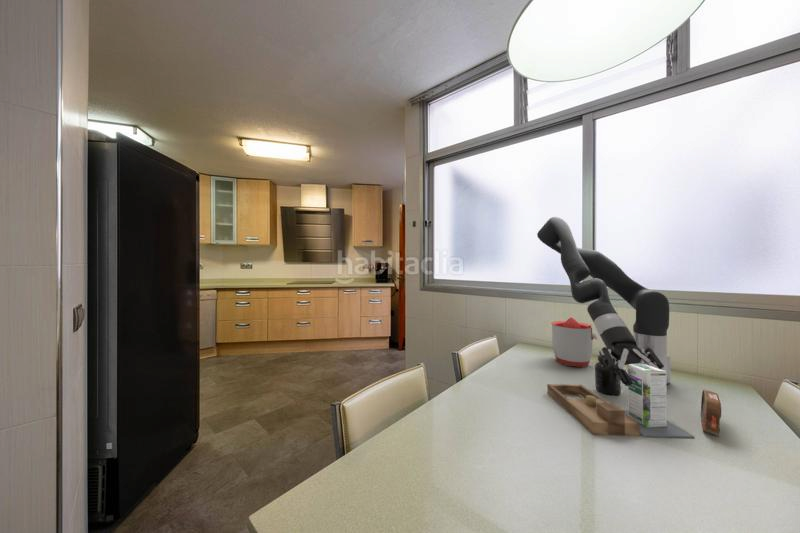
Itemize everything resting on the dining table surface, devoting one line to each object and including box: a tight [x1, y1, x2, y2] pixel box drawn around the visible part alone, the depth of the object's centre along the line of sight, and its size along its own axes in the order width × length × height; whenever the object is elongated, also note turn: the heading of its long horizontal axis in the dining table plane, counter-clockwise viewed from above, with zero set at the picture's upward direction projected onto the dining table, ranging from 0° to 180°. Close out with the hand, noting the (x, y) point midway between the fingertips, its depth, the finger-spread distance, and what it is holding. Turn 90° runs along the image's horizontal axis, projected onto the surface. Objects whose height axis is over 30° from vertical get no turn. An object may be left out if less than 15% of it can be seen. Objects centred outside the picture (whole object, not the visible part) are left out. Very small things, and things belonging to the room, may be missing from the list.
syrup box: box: [627, 364, 668, 428], centre depth 73 cm, size 6×6×14 cm
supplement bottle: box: [594, 354, 622, 397], centre depth 92 cm, size 7×7×12 cm
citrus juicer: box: [551, 317, 599, 368], centre depth 121 cm, size 16×17×20 cm
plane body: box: [546, 383, 641, 436], centre depth 79 cm, size 11×23×6 cm, turn 178°
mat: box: [624, 410, 696, 439], centre depth 73 cm, size 12×12×1 cm
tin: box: [700, 389, 722, 436], centre depth 71 cm, size 15×3×8 cm, turn 134°
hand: (645, 385), depth 73 cm, fingers open, 8 cm apart
